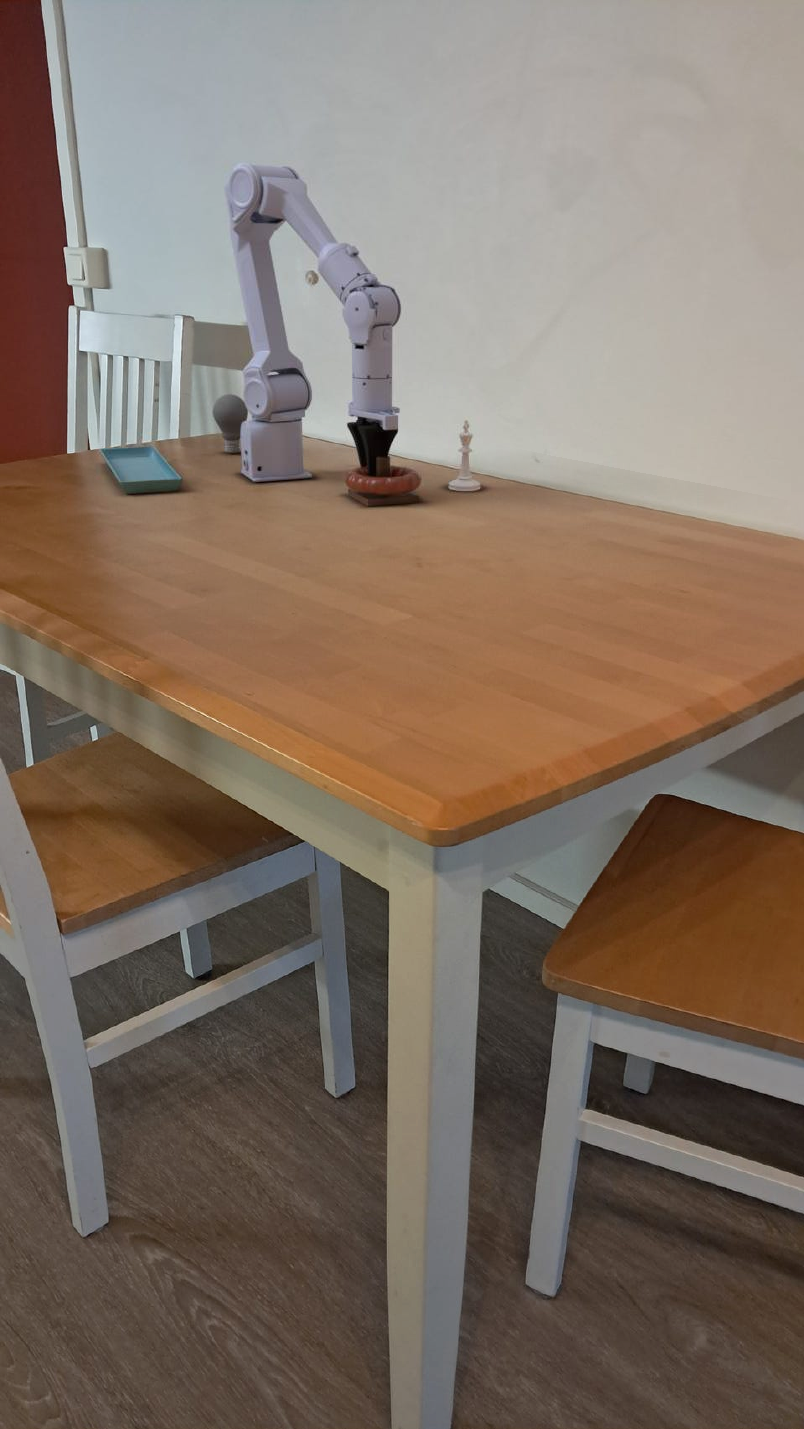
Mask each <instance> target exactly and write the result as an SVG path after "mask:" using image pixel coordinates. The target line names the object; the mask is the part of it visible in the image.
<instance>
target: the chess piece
mask: <svg viewBox="0 0 804 1429" xmlns="http://www.w3.org/2000/svg"><path fill="white" fill-rule="evenodd" d="M469 428H470V423H469V420H467V419H465V420H464V425H463V427H462V429H463V430H464V431H463V432H460V433H459V434H458V436H459V439H460V443H461V448H460V447H459V449H458V453H461V462H460V468H459V474H458V475H457V476H456V478H457V479H453V480H451V481H449V482H448V486H447V487H448V489H449V490H451V491H457V492H474V491H479V490H480V489H481V488H482V487H481V483H480V481H478V480H475V479H473V476H472V475H471V468H470V456H469V453H473V449H472V448H470V445H471V442H472V439H473V436H474V435H473V433H472V432H469Z"/></svg>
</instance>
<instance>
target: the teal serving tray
mask: <svg viewBox="0 0 804 1429" xmlns="http://www.w3.org/2000/svg"><path fill="white" fill-rule="evenodd" d="M99 453H100V454H101V456H102V458H103V459H104V461H105V463H106V464H107V466H108V468H109V470H110V471H111V473H112V474H113V476H114V477H115V479H116V480H117V482H118V484H119V485H120V487H121V489H122V490H123V491H124V493H125V494H127V495H130V494H131V495H132V494H133V495H134V494H145V493H146V494H148V493H165V492H166V493H168V492H176V491H177V490H178V488H179V486H180V484H181V482H182V480H183V478H182V476H181V475H179V473H178V472H177V471H176V470H175V469H174V468H173V467H172V465H171V464H170V462H168V461H167V459H166V458H165V457H164V456H163V455H162V453H161V452H160V451H159V450H158V449H157V447H156V446H154V445H147V446H145V445H144V446H128V447H127V446H126V447H111V448H100V449H99Z"/></svg>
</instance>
